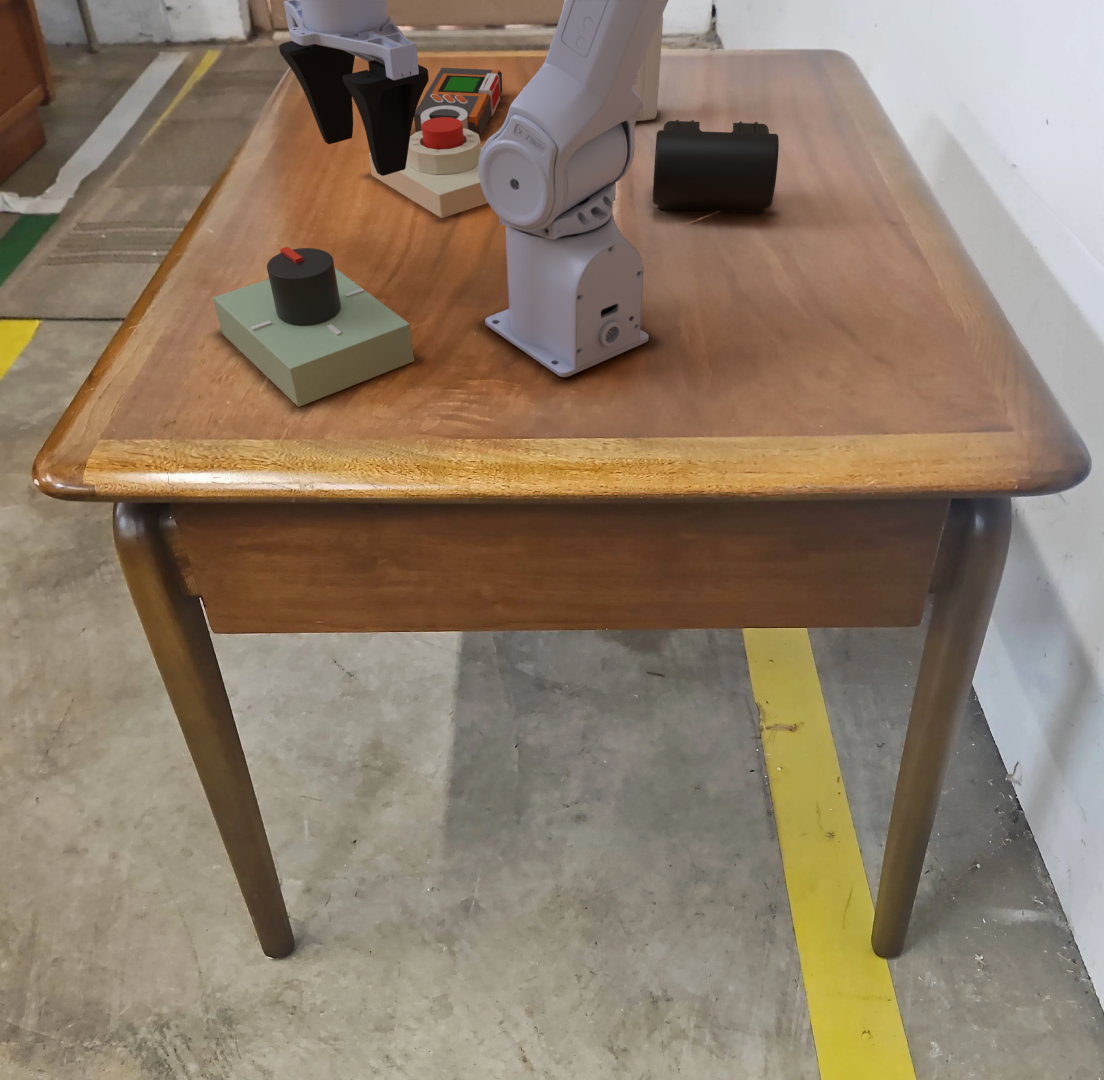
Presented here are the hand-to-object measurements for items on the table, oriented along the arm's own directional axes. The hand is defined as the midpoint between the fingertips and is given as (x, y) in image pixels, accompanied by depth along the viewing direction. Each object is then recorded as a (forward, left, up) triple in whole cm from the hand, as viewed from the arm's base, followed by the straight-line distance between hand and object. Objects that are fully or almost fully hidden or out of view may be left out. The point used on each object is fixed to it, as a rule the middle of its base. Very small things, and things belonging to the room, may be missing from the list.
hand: (364, 155), depth 76 cm
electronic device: (+23, -23, -9) cm, 34 cm away
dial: (-8, +10, -6) cm, 14 cm away
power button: (+10, -13, -5) cm, 18 cm away
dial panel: (-8, +10, -9) cm, 15 cm away
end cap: (-9, -28, -9) cm, 31 cm away
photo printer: (+13, -35, -9) cm, 39 cm away
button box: (+10, -13, -9) cm, 19 cm away
